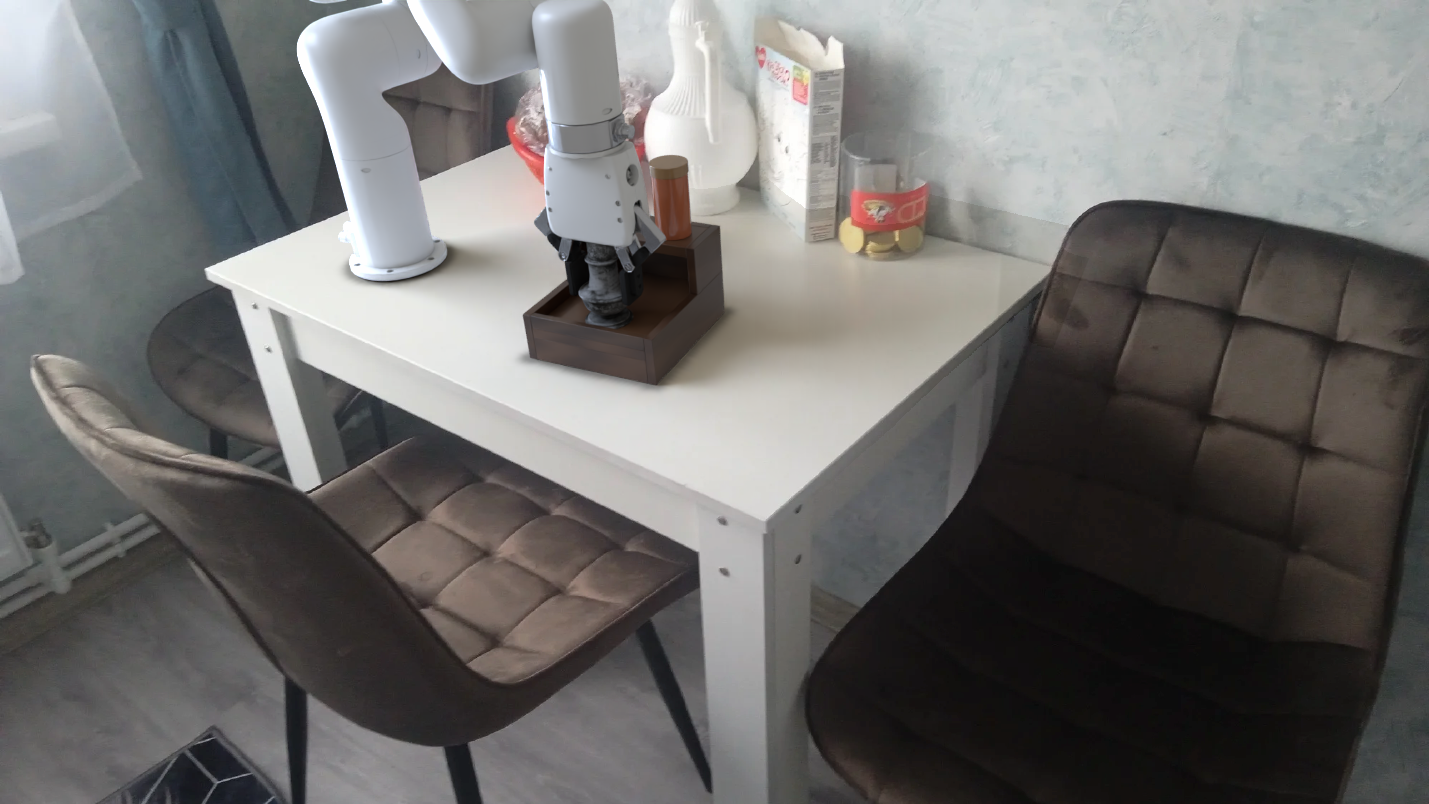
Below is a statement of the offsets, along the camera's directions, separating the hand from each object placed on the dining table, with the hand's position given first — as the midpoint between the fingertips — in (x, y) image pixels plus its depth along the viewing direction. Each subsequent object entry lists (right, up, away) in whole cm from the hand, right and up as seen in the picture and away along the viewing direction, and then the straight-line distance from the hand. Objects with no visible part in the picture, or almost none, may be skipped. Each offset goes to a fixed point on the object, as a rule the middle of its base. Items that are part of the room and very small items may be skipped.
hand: (606, 293), depth 112 cm
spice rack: (+2, -4, +7) cm, 8 cm away
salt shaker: (0, -3, +2) cm, 3 cm away
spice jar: (+7, +7, +3) cm, 10 cm away
